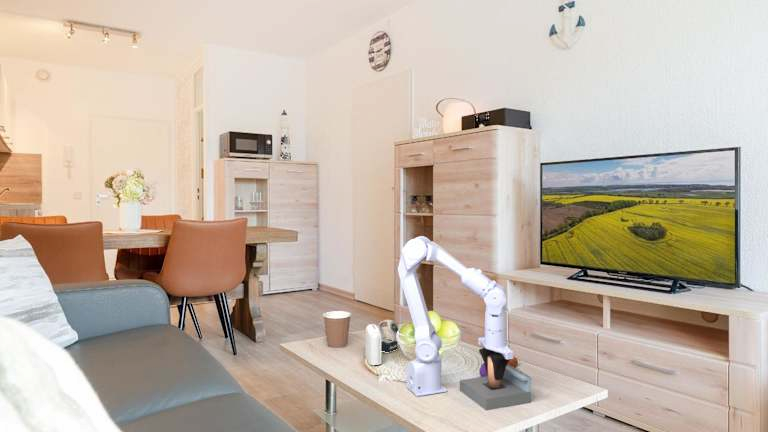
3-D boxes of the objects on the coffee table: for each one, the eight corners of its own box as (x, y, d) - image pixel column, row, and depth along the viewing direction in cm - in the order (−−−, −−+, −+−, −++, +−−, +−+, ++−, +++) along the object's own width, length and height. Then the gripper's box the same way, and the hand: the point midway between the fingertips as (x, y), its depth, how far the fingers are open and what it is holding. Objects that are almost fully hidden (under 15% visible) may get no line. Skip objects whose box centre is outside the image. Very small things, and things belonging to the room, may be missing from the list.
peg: (492, 389, 138) (492, 360, 138) (485, 384, 141) (485, 356, 141) (503, 386, 140) (503, 358, 139) (495, 382, 143) (495, 354, 142)
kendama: (523, 356, 163) (496, 368, 148) (519, 373, 164) (491, 387, 148) (507, 349, 167) (478, 360, 151) (502, 366, 168) (474, 378, 152)
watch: (392, 354, 176) (393, 323, 176) (374, 350, 181) (374, 320, 180) (402, 350, 181) (402, 320, 180) (384, 346, 185) (384, 317, 185)
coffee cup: (339, 340, 193) (339, 309, 192) (356, 346, 185) (356, 314, 184) (317, 346, 186) (317, 313, 185) (334, 352, 178) (334, 319, 178)
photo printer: (364, 356, 174) (364, 321, 173) (376, 356, 175) (376, 320, 174) (369, 367, 164) (369, 329, 163) (382, 366, 165) (382, 328, 164)
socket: (486, 410, 132) (486, 383, 131) (459, 390, 145) (459, 366, 144) (530, 402, 137) (531, 377, 136) (501, 384, 150) (501, 360, 149)
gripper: (523, 334, 134) (522, 384, 135) (492, 321, 148) (492, 366, 149) (500, 336, 132) (500, 387, 132) (472, 323, 145) (471, 369, 146)
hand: (494, 376), depth 140 cm, fingers closed on peg, 3 cm apart
